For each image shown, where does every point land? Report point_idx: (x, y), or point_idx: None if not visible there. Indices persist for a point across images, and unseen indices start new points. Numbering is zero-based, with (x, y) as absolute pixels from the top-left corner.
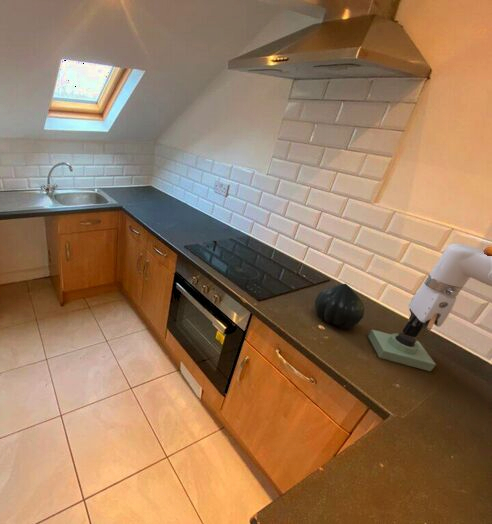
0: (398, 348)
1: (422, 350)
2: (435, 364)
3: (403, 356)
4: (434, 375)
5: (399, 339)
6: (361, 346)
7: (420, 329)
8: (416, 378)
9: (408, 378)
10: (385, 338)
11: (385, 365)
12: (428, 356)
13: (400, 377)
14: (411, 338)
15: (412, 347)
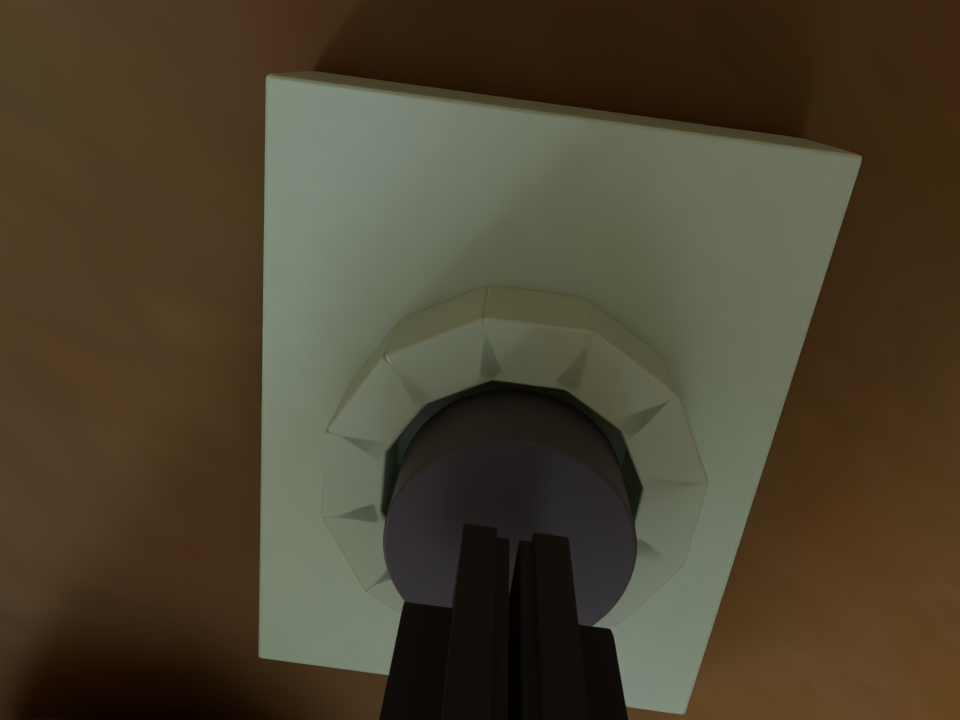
0: None
1: (533, 169)
2: (858, 162)
3: (740, 537)
4: (873, 129)
5: None
6: None
7: (586, 707)
8: (943, 411)
9: (948, 499)
10: None
11: (774, 626)
12: (675, 159)
13: (938, 572)
14: (523, 502)
15: (655, 472)
